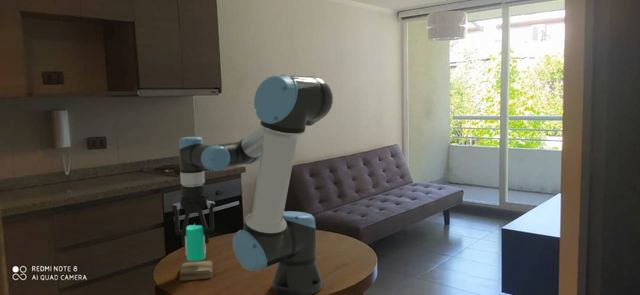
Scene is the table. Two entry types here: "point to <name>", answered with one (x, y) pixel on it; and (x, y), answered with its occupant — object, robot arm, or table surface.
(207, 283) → the table surface
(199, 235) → the candle
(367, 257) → the table surface
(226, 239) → the table surface
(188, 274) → the stand
